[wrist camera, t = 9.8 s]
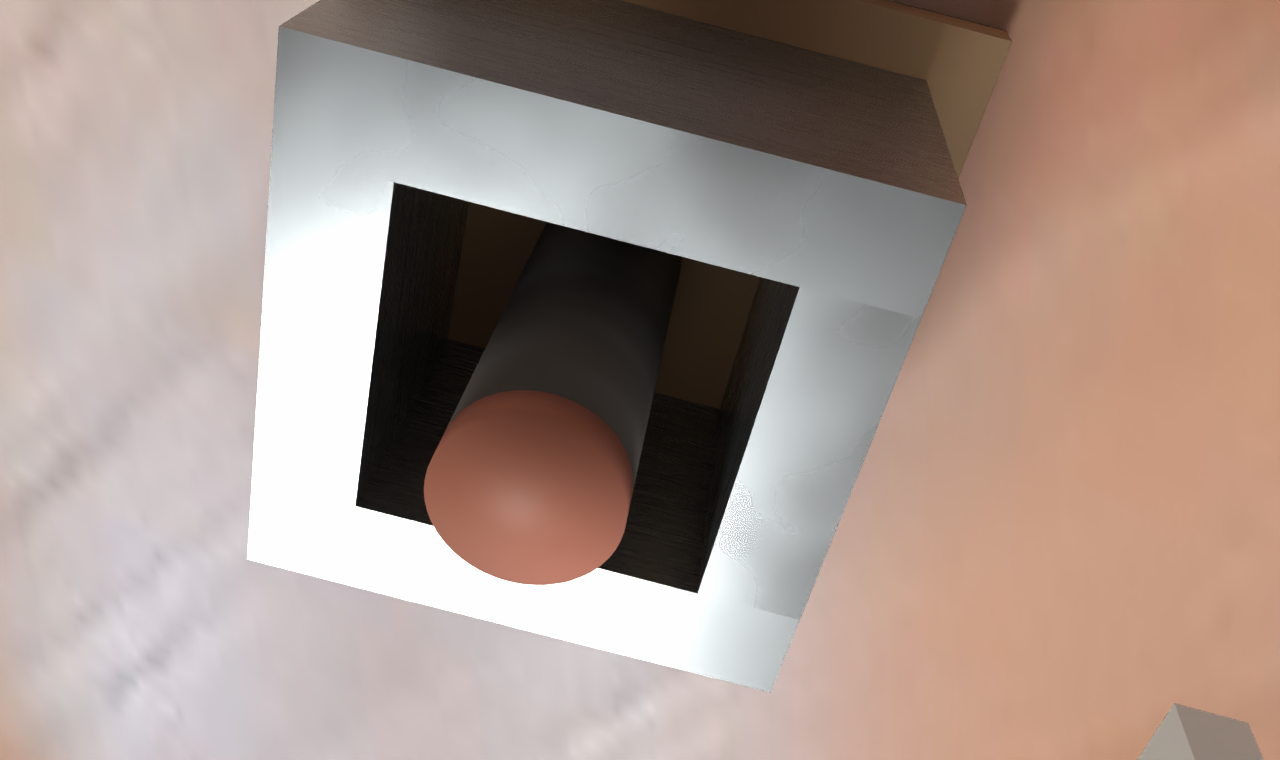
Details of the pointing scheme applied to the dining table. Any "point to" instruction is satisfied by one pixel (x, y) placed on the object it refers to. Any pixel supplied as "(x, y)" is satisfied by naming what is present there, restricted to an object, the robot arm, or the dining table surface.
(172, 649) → the dining table surface
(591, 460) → the keeper
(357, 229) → the grey square hollow block
